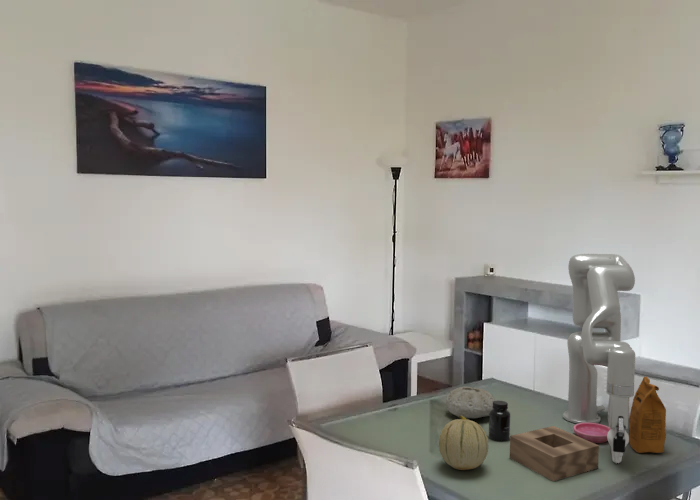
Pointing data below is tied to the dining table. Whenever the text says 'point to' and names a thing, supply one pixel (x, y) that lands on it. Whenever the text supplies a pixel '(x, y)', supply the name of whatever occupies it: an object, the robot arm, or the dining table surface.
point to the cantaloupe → (463, 444)
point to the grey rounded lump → (469, 402)
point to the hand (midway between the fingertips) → (617, 446)
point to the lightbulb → (615, 455)
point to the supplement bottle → (499, 421)
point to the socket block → (554, 452)
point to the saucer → (592, 432)
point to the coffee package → (647, 420)
